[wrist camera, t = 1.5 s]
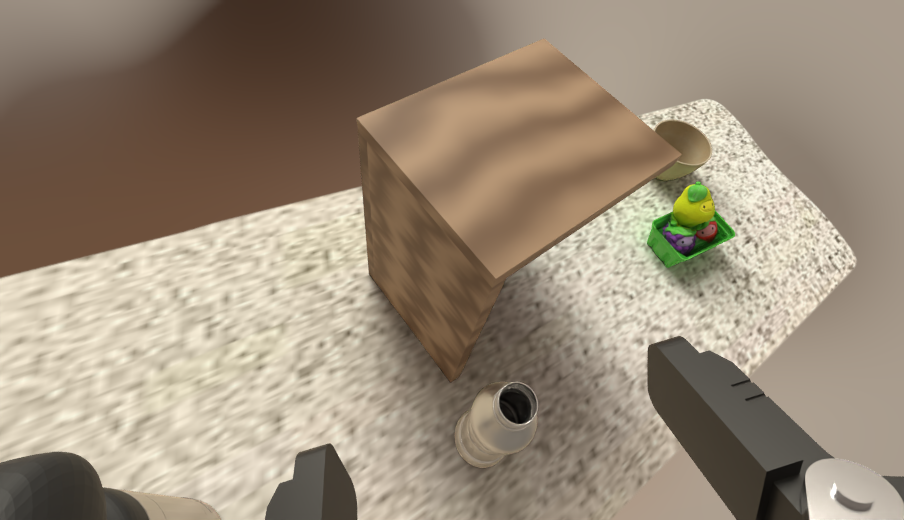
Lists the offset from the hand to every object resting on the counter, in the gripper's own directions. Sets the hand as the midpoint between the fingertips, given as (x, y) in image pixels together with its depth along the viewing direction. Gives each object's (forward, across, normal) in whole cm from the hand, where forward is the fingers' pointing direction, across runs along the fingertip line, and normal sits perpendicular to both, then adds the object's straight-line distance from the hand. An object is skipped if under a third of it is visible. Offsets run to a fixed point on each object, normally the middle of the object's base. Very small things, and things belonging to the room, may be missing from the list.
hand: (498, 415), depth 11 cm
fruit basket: (+51, +38, -34) cm, 73 cm away
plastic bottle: (+30, -1, -38) cm, 49 cm away
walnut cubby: (+47, +5, -28) cm, 55 cm away
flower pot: (+64, +44, -28) cm, 82 cm away
